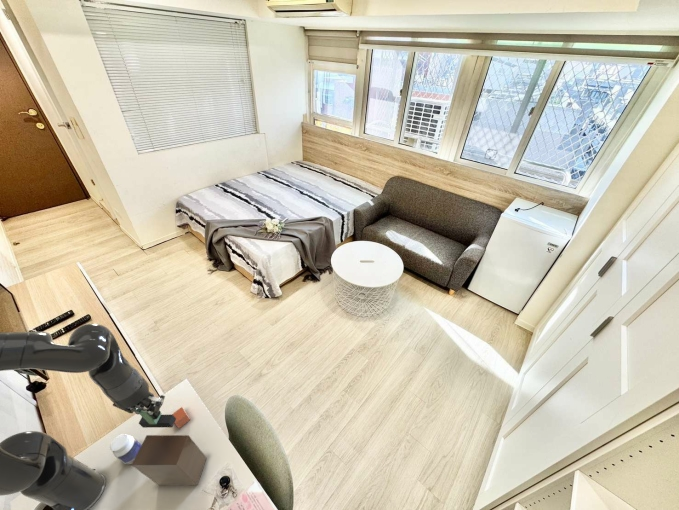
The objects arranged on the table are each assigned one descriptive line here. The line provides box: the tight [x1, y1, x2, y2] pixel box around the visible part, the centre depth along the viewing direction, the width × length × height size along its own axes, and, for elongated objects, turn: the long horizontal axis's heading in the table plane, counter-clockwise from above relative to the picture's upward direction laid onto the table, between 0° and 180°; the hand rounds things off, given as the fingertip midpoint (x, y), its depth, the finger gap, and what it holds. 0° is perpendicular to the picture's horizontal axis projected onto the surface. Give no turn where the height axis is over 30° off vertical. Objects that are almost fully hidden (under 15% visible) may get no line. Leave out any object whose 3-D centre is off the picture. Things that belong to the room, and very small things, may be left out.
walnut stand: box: [131, 434, 208, 486], centre depth 79 cm, size 12×7×18 cm, turn 90°
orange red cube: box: [171, 406, 191, 429], centre depth 95 cm, size 4×4×4 cm
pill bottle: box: [109, 433, 142, 465], centre depth 85 cm, size 6×6×10 cm
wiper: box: [138, 410, 176, 429], centre depth 79 cm, size 9×3×10 cm, turn 90°
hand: (152, 415), depth 79 cm, fingers closed on wiper, 2 cm apart
